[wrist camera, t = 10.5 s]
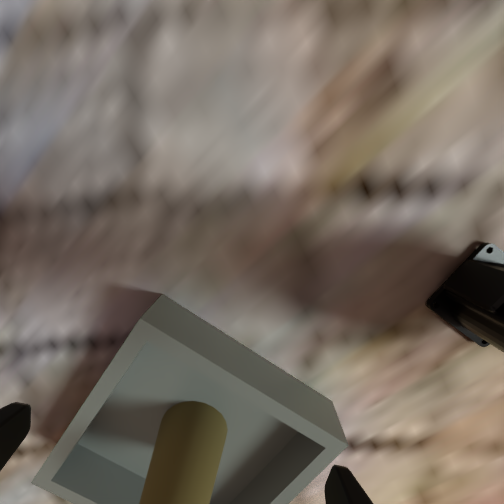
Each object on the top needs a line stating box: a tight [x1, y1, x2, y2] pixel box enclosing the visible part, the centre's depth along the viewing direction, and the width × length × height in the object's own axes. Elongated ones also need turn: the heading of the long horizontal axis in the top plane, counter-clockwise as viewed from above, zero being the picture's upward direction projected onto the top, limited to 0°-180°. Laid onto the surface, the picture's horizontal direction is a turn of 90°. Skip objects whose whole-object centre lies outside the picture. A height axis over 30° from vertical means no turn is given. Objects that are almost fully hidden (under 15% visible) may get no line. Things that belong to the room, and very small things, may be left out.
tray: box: [31, 294, 348, 504], centre depth 21 cm, size 18×18×4 cm
